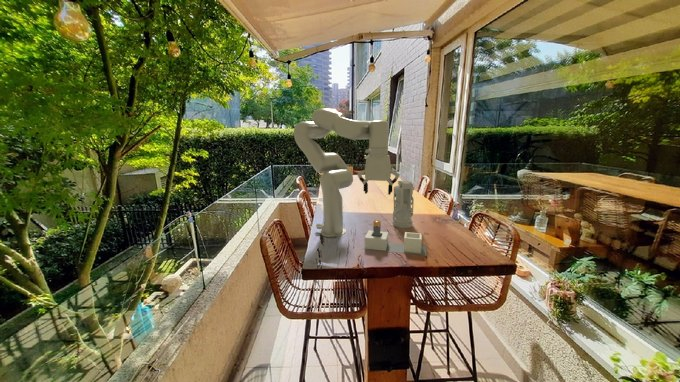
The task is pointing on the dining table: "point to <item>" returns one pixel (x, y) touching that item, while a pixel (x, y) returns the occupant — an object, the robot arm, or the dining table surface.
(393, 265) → the dining table surface
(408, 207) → the lantern
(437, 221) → the dining table surface
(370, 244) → the dock board
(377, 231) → the lock pin
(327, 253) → the dining table surface
